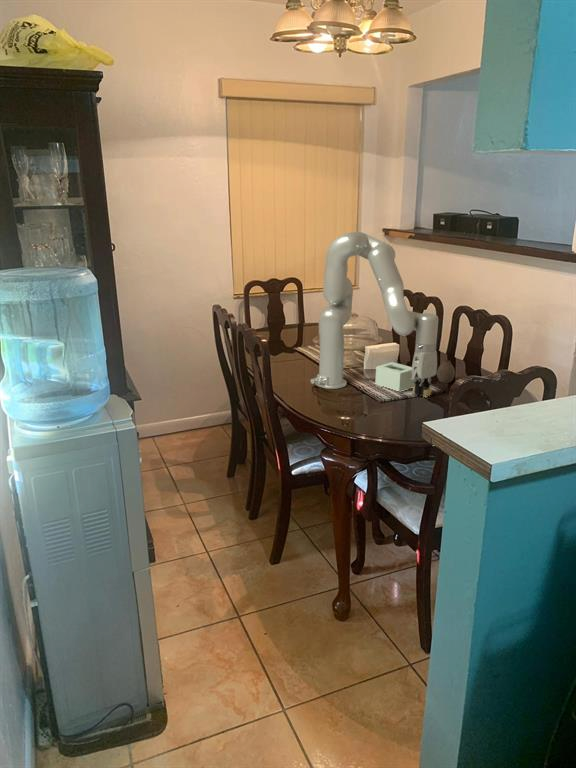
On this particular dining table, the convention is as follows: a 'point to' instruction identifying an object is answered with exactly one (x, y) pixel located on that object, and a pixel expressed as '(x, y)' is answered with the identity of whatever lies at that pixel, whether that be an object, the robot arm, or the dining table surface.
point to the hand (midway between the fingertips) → (421, 393)
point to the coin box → (394, 376)
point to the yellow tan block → (424, 391)
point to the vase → (446, 372)
